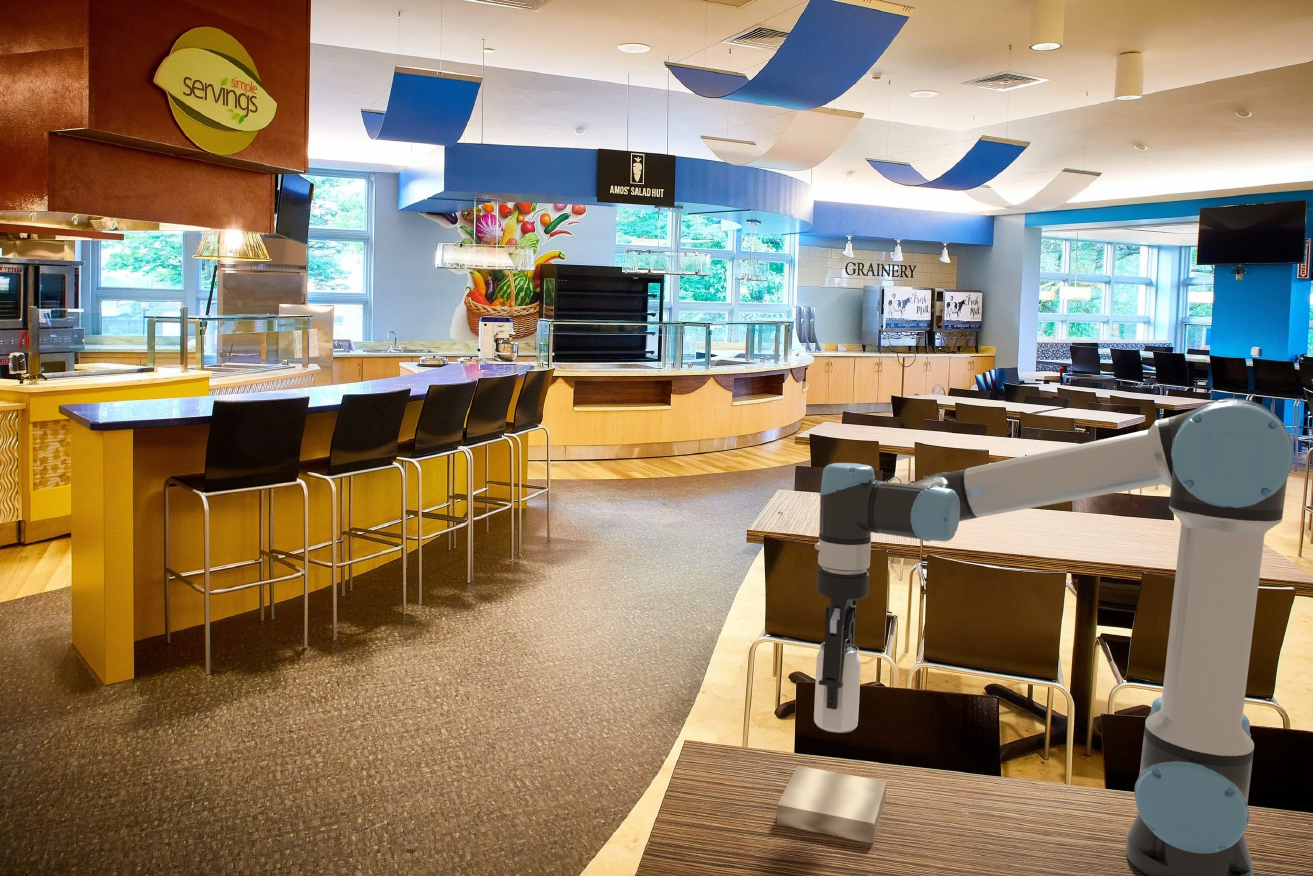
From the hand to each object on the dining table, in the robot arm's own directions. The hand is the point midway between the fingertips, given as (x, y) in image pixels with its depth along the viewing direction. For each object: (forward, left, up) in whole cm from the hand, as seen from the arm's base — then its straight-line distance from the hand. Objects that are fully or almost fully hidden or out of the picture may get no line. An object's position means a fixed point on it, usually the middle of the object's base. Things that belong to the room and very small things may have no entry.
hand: (836, 718), depth 141 cm
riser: (0, 0, -15) cm, 15 cm away
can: (0, 0, -1) cm, 1 cm away
